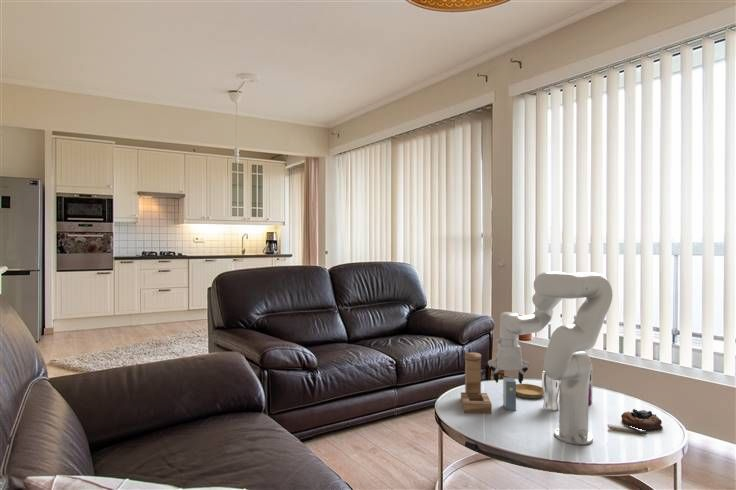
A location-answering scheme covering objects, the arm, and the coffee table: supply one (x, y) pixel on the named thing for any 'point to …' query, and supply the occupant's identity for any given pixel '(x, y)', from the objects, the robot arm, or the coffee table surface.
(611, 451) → the coffee table surface
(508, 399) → the grey box with cap
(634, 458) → the coffee table surface
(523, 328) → the robot arm
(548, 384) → the white vase
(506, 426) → the coffee table surface
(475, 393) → the wooden square frame
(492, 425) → the coffee table surface
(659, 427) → the pastry
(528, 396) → the plant saucer
